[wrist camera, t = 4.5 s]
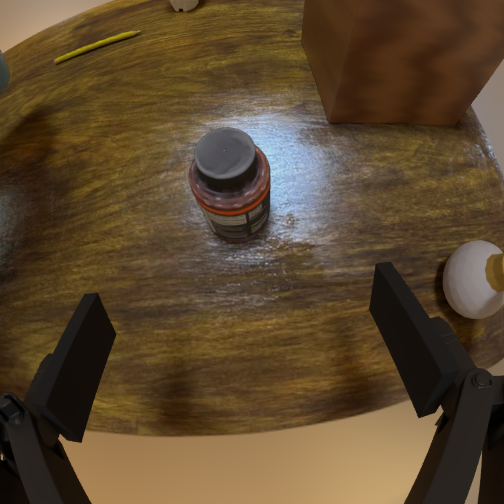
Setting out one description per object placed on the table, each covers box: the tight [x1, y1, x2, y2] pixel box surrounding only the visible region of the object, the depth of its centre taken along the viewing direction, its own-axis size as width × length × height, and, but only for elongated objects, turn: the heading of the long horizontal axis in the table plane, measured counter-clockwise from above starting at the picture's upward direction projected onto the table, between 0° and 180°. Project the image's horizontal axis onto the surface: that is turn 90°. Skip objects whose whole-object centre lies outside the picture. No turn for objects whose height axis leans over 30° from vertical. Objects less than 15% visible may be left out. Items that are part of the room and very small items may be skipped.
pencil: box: [54, 31, 140, 64], centre depth 38 cm, size 16×1×1 cm, turn 98°
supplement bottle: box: [189, 128, 270, 242], centre depth 25 cm, size 6×6×11 cm
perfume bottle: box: [443, 240, 504, 333], centre depth 21 cm, size 8×10×12 cm
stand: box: [301, 0, 504, 127], centre depth 24 cm, size 18×16×22 cm
